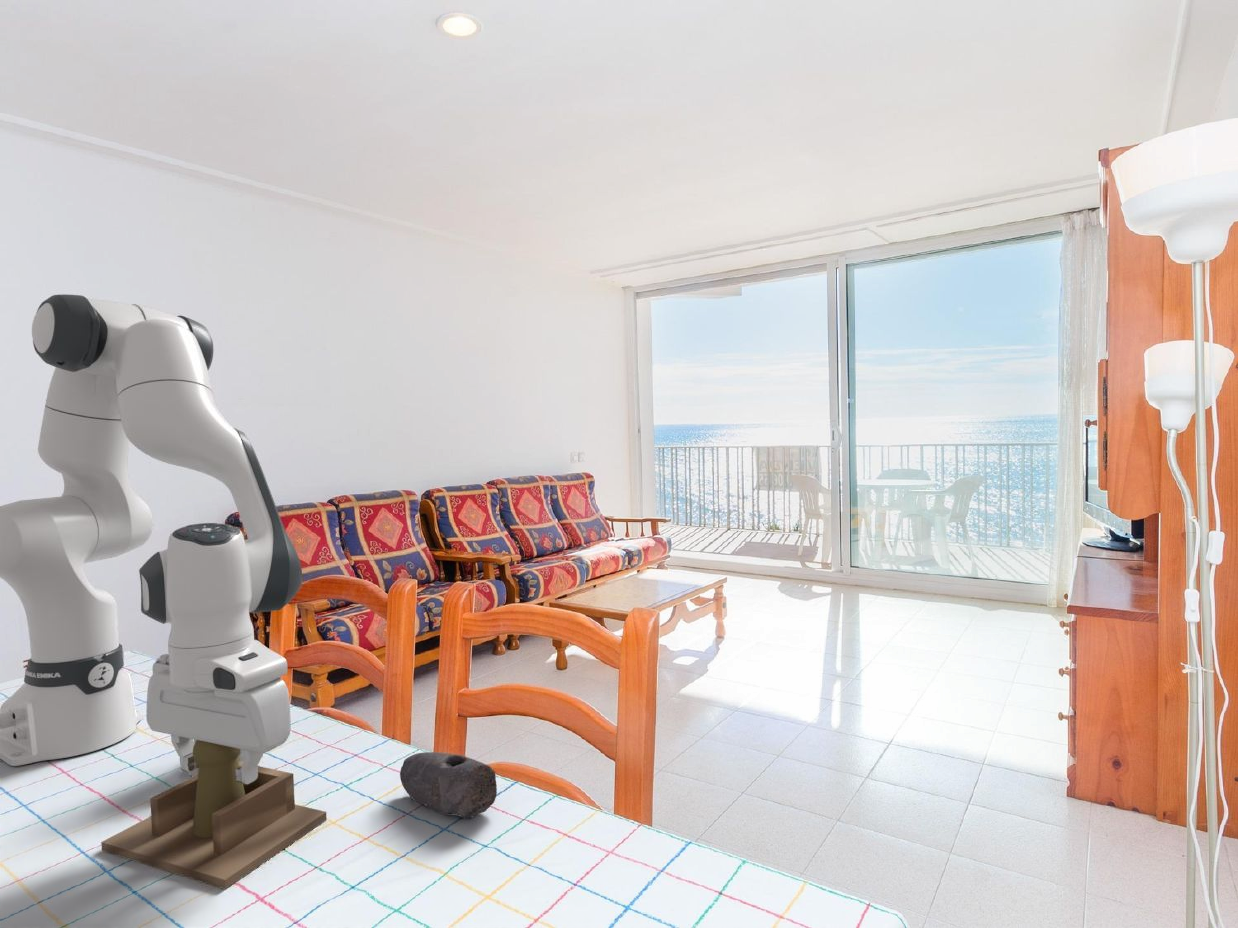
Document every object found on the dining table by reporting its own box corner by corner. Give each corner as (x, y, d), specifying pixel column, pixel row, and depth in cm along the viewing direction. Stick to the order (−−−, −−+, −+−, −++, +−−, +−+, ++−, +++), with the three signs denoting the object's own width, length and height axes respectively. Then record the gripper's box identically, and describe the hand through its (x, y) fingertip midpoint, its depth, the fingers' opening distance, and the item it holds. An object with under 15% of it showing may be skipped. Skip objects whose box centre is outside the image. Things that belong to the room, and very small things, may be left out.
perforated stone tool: (387, 800, 91) (385, 748, 91) (419, 783, 95) (417, 733, 95) (471, 834, 83) (470, 777, 83) (502, 813, 87) (500, 759, 87)
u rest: (101, 850, 81) (99, 803, 81) (211, 791, 94) (209, 751, 94) (225, 888, 74) (223, 838, 73) (326, 819, 87) (324, 776, 86)
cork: (223, 840, 81) (219, 747, 80) (179, 834, 82) (175, 742, 82) (261, 812, 87) (257, 725, 86) (219, 807, 88) (215, 721, 88)
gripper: (128, 660, 84) (134, 772, 85) (252, 679, 77) (257, 802, 77) (178, 645, 90) (183, 750, 91) (298, 661, 83) (303, 776, 83)
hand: (218, 774), depth 84 cm, fingers open, 8 cm apart
